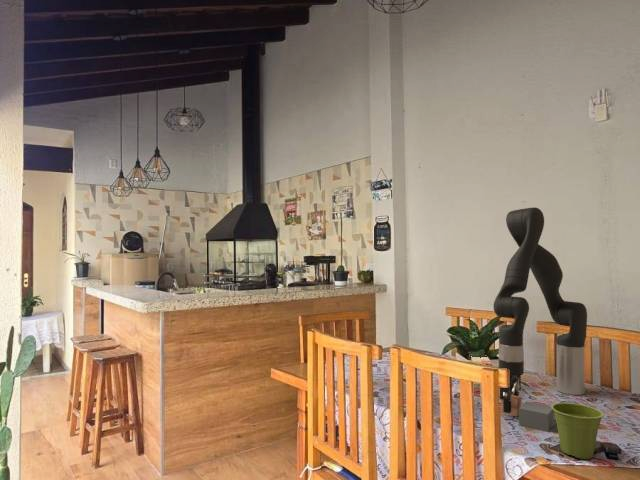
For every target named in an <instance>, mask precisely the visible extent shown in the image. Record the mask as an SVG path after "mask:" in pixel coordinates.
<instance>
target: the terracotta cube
mask: <svg viewBox="0 0 640 480" xmlns="http://www.w3.org/2000/svg"><path fill="white" fill-rule="evenodd" d="M505 396H507V394H506V395H505ZM521 406H522V396H515V395H512V400H511V413H506V412H504V411H503V400H502V399H501V398H500V413H501V412H502V413H501V414H505V415H509V416H512V417H513V416H514V417H519V408H520V407H521Z"/></svg>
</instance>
